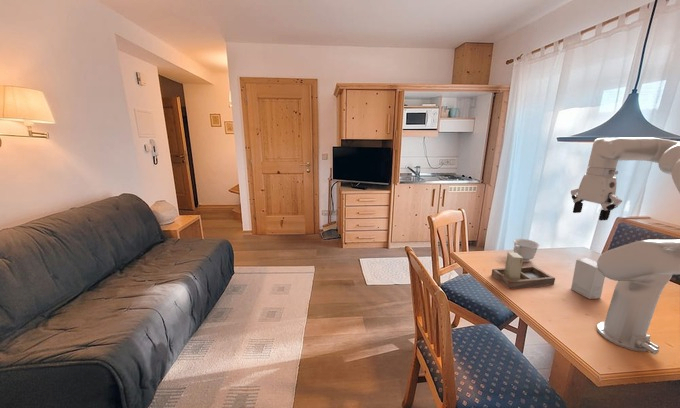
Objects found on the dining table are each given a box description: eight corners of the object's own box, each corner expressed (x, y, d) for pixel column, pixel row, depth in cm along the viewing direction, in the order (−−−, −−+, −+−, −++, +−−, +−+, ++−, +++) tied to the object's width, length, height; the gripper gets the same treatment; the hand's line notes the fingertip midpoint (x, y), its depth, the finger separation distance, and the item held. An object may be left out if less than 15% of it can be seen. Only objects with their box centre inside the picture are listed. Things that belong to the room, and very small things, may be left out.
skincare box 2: (600, 298, 112) (609, 266, 108) (588, 299, 111) (596, 267, 107) (580, 287, 120) (588, 257, 116) (568, 288, 119) (576, 258, 115)
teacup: (501, 258, 148) (504, 241, 145) (519, 253, 154) (522, 237, 151) (523, 267, 137) (526, 249, 135) (541, 262, 143) (545, 245, 140)
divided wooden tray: (553, 284, 122) (555, 278, 121) (509, 288, 119) (511, 282, 118) (532, 271, 133) (533, 265, 132) (491, 275, 130) (492, 269, 129)
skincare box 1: (519, 282, 122) (524, 258, 119) (509, 281, 123) (513, 257, 119) (513, 275, 128) (517, 252, 125) (503, 274, 129) (507, 251, 126)
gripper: (637, 175, 90) (623, 222, 95) (584, 169, 107) (575, 209, 111) (618, 175, 89) (605, 223, 94) (568, 169, 106) (559, 210, 110)
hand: (589, 216), depth 103 cm, fingers open, 9 cm apart
